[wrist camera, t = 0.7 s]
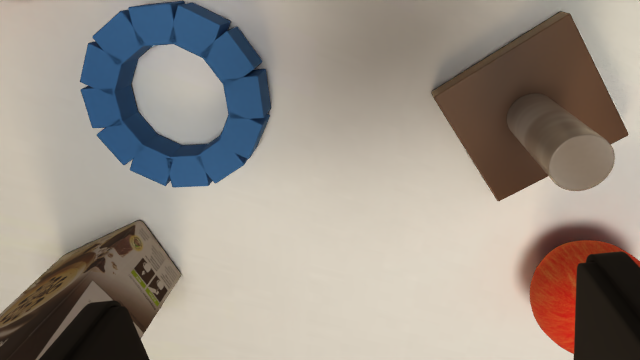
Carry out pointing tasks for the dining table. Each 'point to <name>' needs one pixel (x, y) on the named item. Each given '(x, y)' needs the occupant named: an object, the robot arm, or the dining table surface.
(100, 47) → the collar
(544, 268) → the apple
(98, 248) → the coffee box
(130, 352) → the robot arm
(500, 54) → the peg on square base
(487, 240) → the dining table surface
